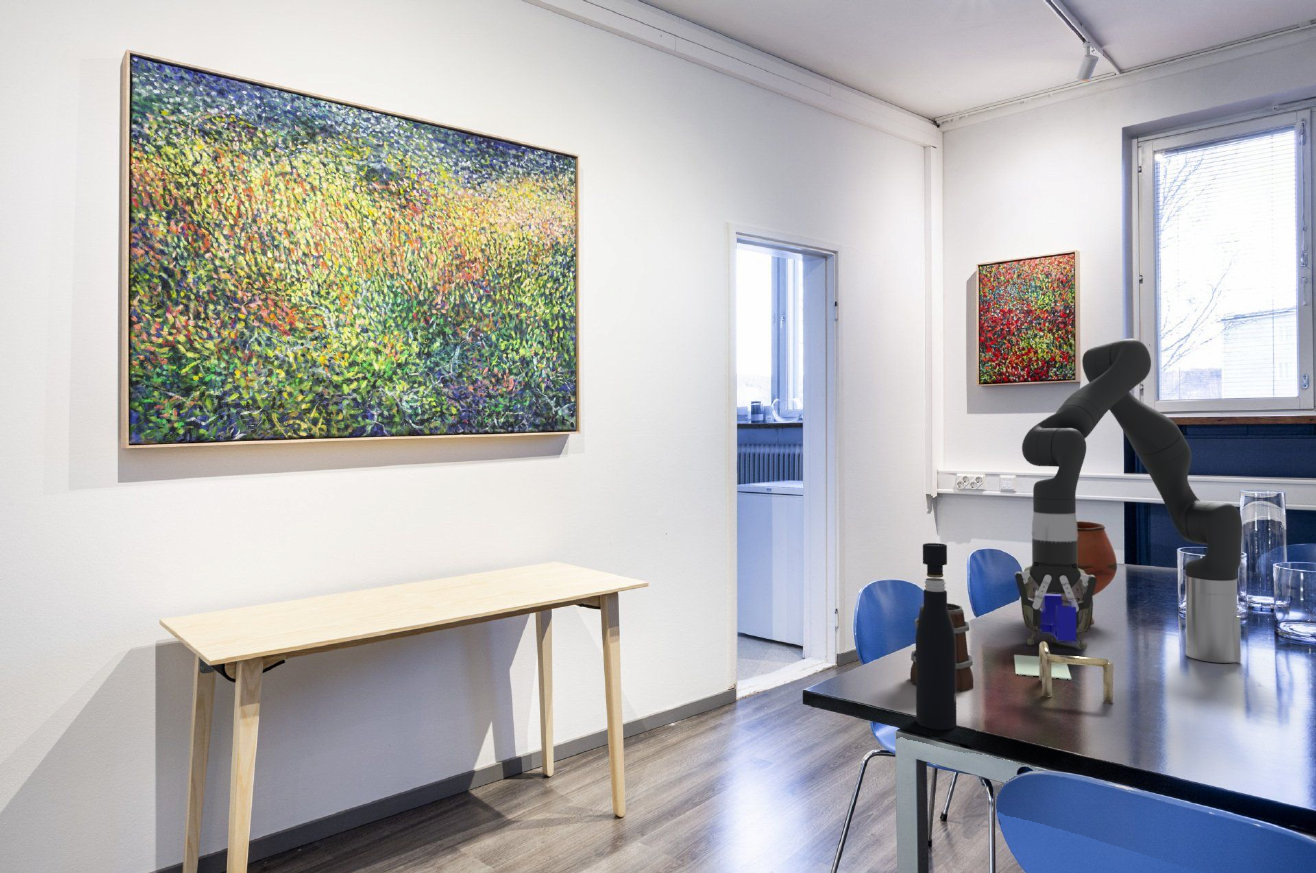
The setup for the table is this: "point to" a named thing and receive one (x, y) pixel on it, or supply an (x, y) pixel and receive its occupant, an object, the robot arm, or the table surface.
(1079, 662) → the wire track
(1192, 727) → the table surface
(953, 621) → the mug
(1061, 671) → the pad
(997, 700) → the table surface
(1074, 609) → the cable clip
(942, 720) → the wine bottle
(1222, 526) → the robot arm
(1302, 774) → the table surface
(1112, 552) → the terracotta pot
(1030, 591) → the tabletop clock
